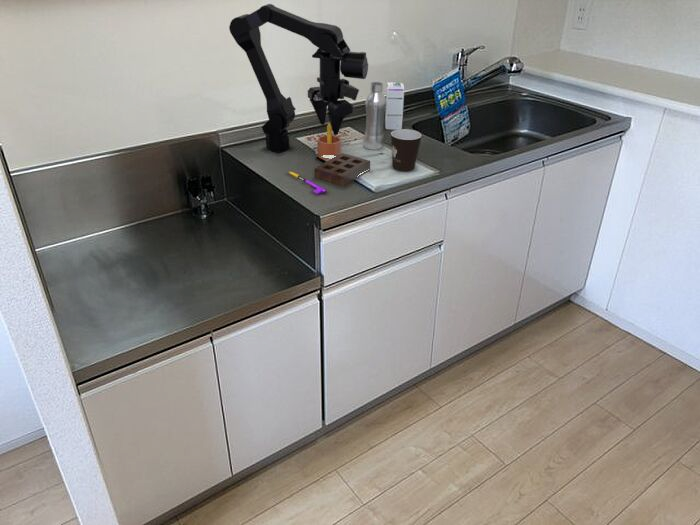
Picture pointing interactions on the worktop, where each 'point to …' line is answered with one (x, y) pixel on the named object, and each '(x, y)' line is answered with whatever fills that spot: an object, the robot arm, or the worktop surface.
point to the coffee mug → (404, 149)
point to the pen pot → (329, 146)
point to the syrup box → (394, 105)
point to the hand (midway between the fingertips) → (329, 129)
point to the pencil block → (342, 169)
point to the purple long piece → (311, 184)
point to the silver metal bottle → (374, 117)
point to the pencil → (329, 133)
